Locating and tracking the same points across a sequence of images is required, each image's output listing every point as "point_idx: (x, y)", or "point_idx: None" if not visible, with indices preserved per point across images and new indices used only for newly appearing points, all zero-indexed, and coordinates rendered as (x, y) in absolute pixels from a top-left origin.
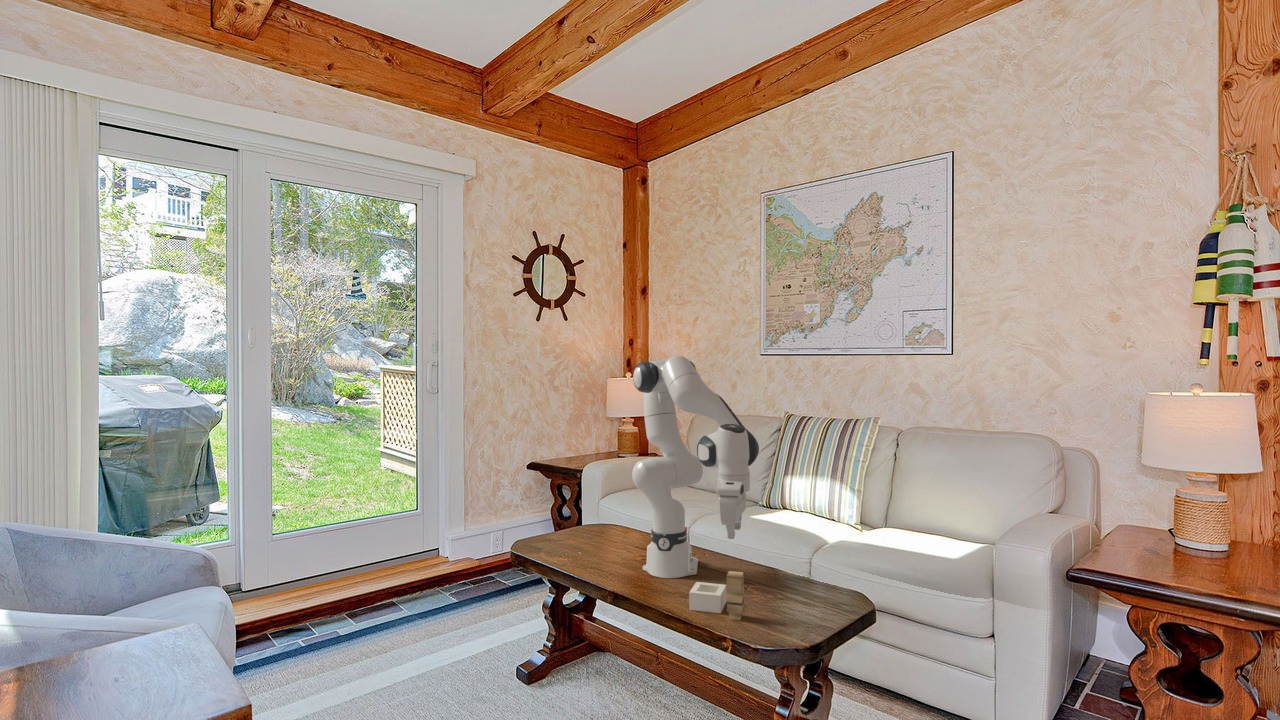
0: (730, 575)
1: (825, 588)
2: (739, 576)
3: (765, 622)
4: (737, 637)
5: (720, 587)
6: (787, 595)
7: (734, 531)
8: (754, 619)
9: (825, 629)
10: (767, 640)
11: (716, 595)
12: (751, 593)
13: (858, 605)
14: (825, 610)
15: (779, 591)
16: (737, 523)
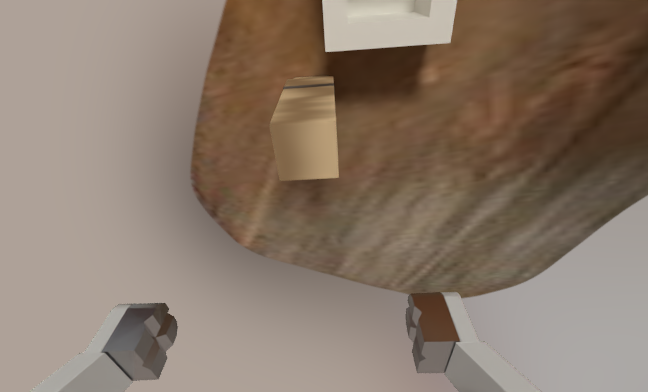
0: (279, 140)
1: (552, 247)
2: (283, 174)
3: None
4: (199, 125)
5: (414, 26)
6: (504, 185)
7: (126, 386)
8: None
9: (324, 262)
10: (223, 186)
11: (325, 35)
12: (520, 94)
13: None
14: (418, 256)
15: (536, 164)
16: (430, 360)
